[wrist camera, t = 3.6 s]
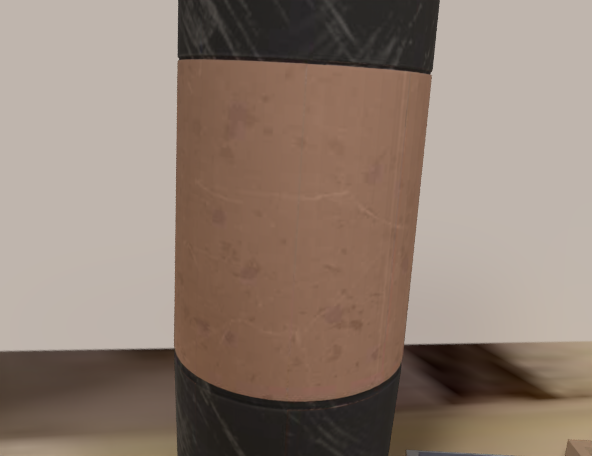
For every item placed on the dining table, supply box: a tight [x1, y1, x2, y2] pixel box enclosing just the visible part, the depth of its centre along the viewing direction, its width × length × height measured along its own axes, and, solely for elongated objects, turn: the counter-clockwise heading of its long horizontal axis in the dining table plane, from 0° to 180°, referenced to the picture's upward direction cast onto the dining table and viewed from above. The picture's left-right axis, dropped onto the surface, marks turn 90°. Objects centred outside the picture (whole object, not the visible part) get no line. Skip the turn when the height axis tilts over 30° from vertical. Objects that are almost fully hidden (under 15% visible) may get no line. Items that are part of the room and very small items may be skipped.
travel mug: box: [174, 0, 440, 456], centre depth 18 cm, size 8×8×20 cm
